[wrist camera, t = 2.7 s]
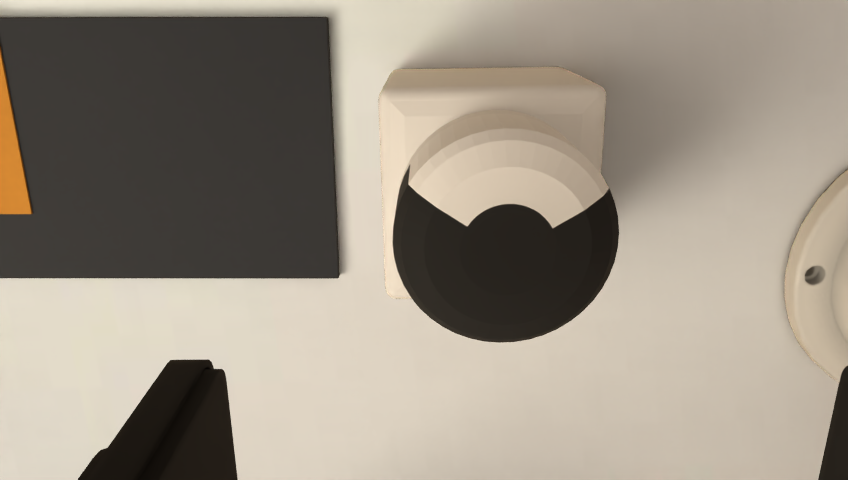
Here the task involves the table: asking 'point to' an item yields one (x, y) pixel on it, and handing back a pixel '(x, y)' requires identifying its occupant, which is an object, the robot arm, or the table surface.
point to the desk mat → (166, 148)
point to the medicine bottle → (495, 197)
